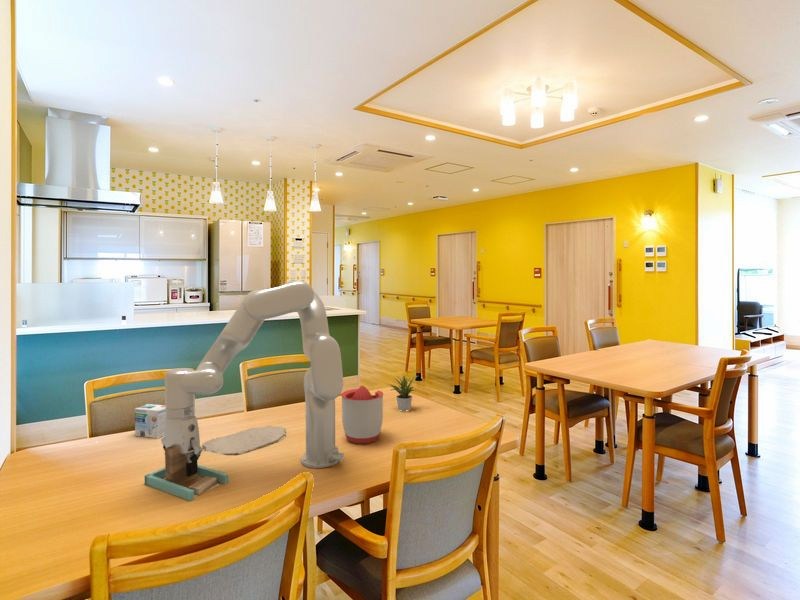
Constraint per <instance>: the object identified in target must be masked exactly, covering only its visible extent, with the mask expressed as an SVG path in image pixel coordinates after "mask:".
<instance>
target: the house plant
mask: <svg viewBox="0 0 800 600" xmlns="http://www.w3.org/2000/svg"><path fill="white" fill-rule="evenodd" d="M417 377H419V375H416V376H413V377H412V376H410V377H409V378H407V377H406V375H404V374H402V379H401V378H400V377H398V376H397V378H395V377H391V378H392V379H393V381H394V380H395V382H396V383H397V385H398V386H396V385H394V384H392V383H387V385H388V386H391V387H392V388H391V389H390V390H389V391H390V392H391V391H396V392H397V393H398V394H399V395H396V402H397V409H399V410H402V411H406V410H410V411H411V406H412V400H413V396H412V395H410V394H411V393H412V392H413V391H415V392H416V390H415V389H414V387H413V386H412V384H413V383H415V382H416V380H415V379H417ZM399 410H398V411H399Z"/></svg>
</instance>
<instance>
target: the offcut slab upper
mask: <svg viewBox="0 0 800 600" xmlns="http://www.w3.org/2000/svg"><path fill="white" fill-rule="evenodd" d="M216 484H218V482H217V478H215V477H208V476H206V477H202V478H201V479H199V480H197V481H196V482H194V483H192V484H191V485H189V486H188V487H187V488H189V489H192V490H194V495H198V496H200V495H203V494H204V493H206V492H208V491H209V490H208V489H210V488H212V487H213V486H215V485H216ZM212 489H213V488H212ZM207 490H208V491H207ZM210 490H211V489H210ZM205 491H206V492H205ZM198 496H197V497H198Z"/></svg>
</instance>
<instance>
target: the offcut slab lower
mask: <svg viewBox="0 0 800 600" xmlns="http://www.w3.org/2000/svg"><path fill="white" fill-rule="evenodd" d="M220 484H221V483H220ZM220 484H219V483H217V484H216V485H215V486H213V487H212V488H210V489H208V490H207V491H205V492H204V493H206V492H208V491H210V490H212V489H214V488H216V487H218V486H219V485H220ZM196 497H198V495H194V498H196Z"/></svg>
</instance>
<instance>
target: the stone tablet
mask: <svg viewBox="0 0 800 600" xmlns="http://www.w3.org/2000/svg"><path fill="white" fill-rule="evenodd" d="M286 431H287V428H286V427H283V426H272V425H267V426H263V427H251V428H247V429H245V430H242V431H239V432H235V433H232V434H229V435H226V436H221V437H220V436H219V437H215V438H211V439H209V440H207V441H205V442H202V445H201V447H202V450H203V449H206V450H205V452H210V453H214V454H219V455H223V456H224V455H225V456H234V455H242V454H243V453H244V454H246V453H250V452H252V451H253V452H254V451H255V450H258V449H263V448H265V447H268V446H270V445H273V444H276V443H279V442H281V441H283V440H285V438H286V437H287V433H286ZM244 454H243V455H244Z"/></svg>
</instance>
